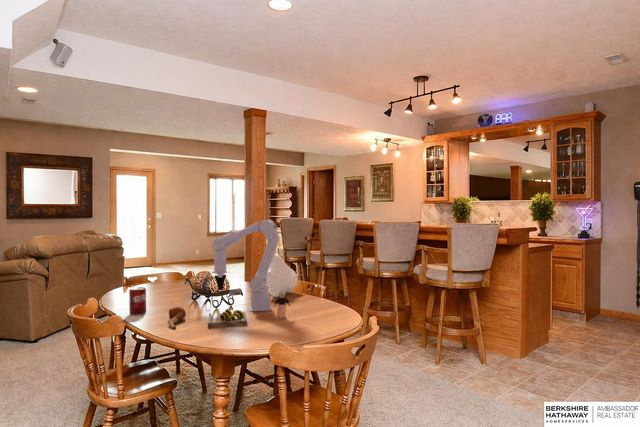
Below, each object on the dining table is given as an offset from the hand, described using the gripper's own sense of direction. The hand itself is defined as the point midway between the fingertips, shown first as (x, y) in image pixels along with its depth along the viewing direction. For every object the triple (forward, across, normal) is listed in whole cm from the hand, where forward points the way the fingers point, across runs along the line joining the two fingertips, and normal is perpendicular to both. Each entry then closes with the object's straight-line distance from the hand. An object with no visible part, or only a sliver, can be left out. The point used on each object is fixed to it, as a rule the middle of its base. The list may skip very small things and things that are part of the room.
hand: (220, 289), depth 207 cm
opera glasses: (+10, +24, +5) cm, 26 cm away
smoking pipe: (+10, +22, -18) cm, 30 cm away
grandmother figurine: (+10, +25, +27) cm, 38 cm away
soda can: (+10, 0, -38) cm, 39 cm away
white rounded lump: (+10, -28, +32) cm, 44 cm away
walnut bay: (+9, +24, +3) cm, 26 cm away
